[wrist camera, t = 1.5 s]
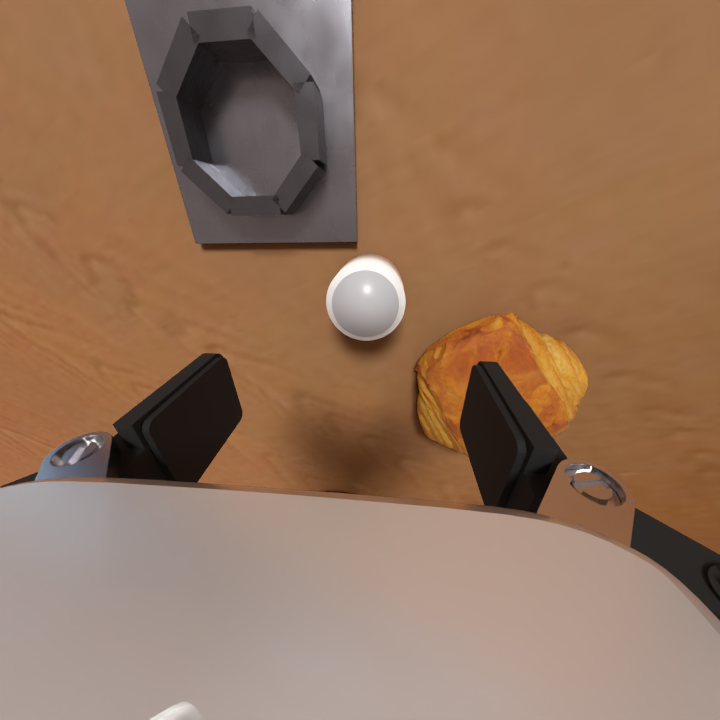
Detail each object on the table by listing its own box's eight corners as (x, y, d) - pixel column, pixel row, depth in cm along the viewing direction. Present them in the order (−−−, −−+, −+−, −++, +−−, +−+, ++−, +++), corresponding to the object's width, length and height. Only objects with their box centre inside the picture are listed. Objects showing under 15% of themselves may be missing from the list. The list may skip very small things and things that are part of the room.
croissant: (557, 393, 31) (621, 444, 24) (430, 442, 33) (453, 501, 26) (538, 276, 24) (617, 298, 17) (383, 347, 27) (397, 391, 20)
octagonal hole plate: (357, 240, 23) (352, 245, 20) (201, 242, 24) (175, 246, 21) (351, -18, 16) (344, -68, 13) (133, 3, 17) (82, -39, 14)
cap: (400, 319, 26) (403, 343, 21) (338, 318, 26) (328, 342, 22) (404, 252, 23) (408, 263, 18) (334, 253, 23) (321, 264, 19)
